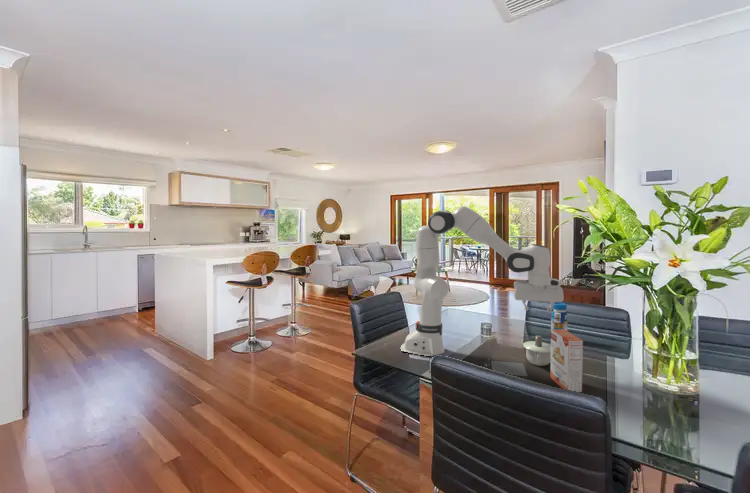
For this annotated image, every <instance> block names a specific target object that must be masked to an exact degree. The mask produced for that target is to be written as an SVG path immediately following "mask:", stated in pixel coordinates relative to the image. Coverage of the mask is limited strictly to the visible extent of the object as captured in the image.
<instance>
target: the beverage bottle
mask: <svg viewBox="0 0 750 493" xmlns="http://www.w3.org/2000/svg"><path fill="white" fill-rule="evenodd" d="M567 308H568V307H567V304H566V303H564V302H554V306H553V307H552V310H553V311H551V318H550V331H551V330H552V329H565V330H566V331H568V329H569V328H568V327H569V326H568V324H569V320H568V318H569V315H568V313H567V312H566V311H567V310H568V309H567ZM568 332H569V331H568Z"/></svg>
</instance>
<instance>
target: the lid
mask: <svg viewBox="0 0 750 493" xmlns="http://www.w3.org/2000/svg"><path fill="white" fill-rule="evenodd" d="M522 345H523V346H522V347H523V348H524V349H527V350H530V351H533V352H539V353H550V352H551V343H547V342H543V336H542V335H538V334H537V335H535V340H533V341H530V340H529V341H525V342H523V343H522Z"/></svg>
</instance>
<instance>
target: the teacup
mask: <svg viewBox="0 0 750 493" xmlns="http://www.w3.org/2000/svg"><path fill="white" fill-rule="evenodd" d="M525 352H526V353H525V355H526V356H525V357H526V359H527V361H529V363H530V364H531V365H534V366H539V367H545V366H547V365H549V364H551V352H550V353H539V352H533V351H530V350H527V349H526V351H525Z"/></svg>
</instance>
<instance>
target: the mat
mask: <svg viewBox="0 0 750 493" xmlns="http://www.w3.org/2000/svg"><path fill="white" fill-rule="evenodd" d="M490 363H491V364H490V365H491V371H492V370H496V371H500V372H503V373H507V374H510V376H520V377H528V373H527V370H526V368H525V365H524V363H521V362H512V361H511V362H508V361H499V360H498V361H497V360H490ZM507 374H506V375H507Z"/></svg>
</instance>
